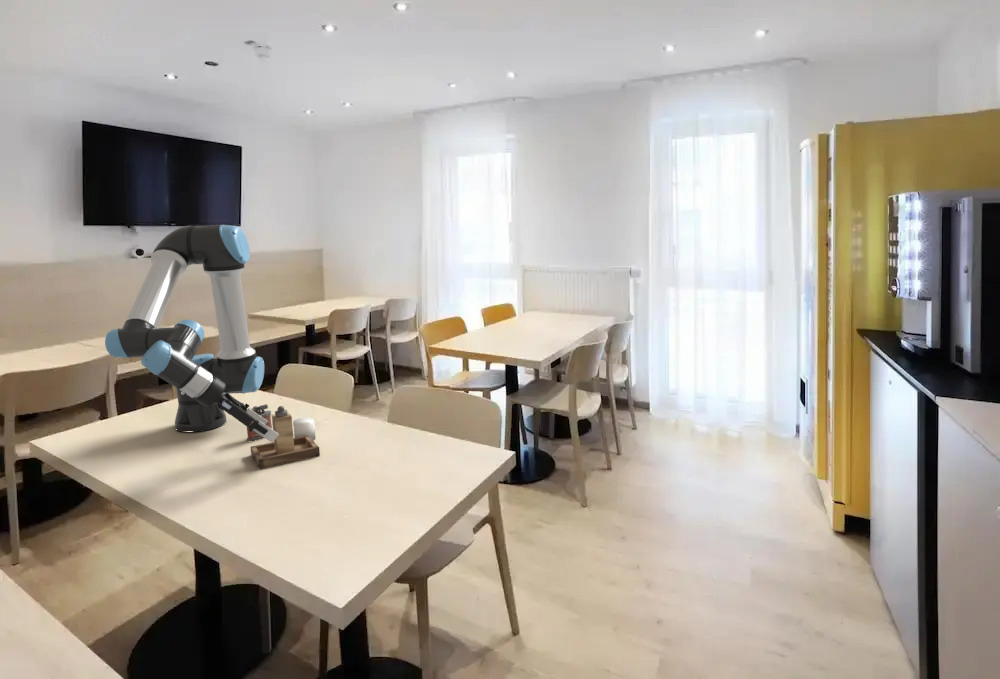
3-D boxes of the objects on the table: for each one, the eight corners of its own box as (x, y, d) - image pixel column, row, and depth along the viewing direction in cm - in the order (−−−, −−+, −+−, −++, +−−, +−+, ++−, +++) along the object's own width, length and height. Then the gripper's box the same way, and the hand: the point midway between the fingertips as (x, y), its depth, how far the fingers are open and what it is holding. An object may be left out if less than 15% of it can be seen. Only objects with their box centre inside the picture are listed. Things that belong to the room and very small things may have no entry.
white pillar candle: (292, 438, 176) (291, 419, 175) (312, 434, 179) (311, 416, 178) (297, 444, 171) (295, 425, 170) (317, 440, 174) (316, 421, 173)
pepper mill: (275, 452, 163) (270, 405, 160) (291, 448, 165) (286, 402, 163) (278, 456, 159) (274, 409, 157) (294, 453, 162) (290, 406, 159)
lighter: (251, 442, 173) (247, 410, 171) (245, 440, 175) (241, 408, 173) (275, 434, 180) (272, 403, 178) (269, 432, 182) (266, 402, 180)
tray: (251, 455, 163) (250, 446, 163) (308, 443, 172) (308, 435, 171) (259, 469, 153) (258, 460, 153) (319, 455, 162) (319, 447, 161)
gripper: (187, 388, 157) (251, 429, 168) (199, 410, 137) (270, 456, 148) (207, 366, 159) (268, 409, 170) (221, 385, 139) (290, 432, 150)
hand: (269, 431), depth 159 cm, fingers open, 13 cm apart
